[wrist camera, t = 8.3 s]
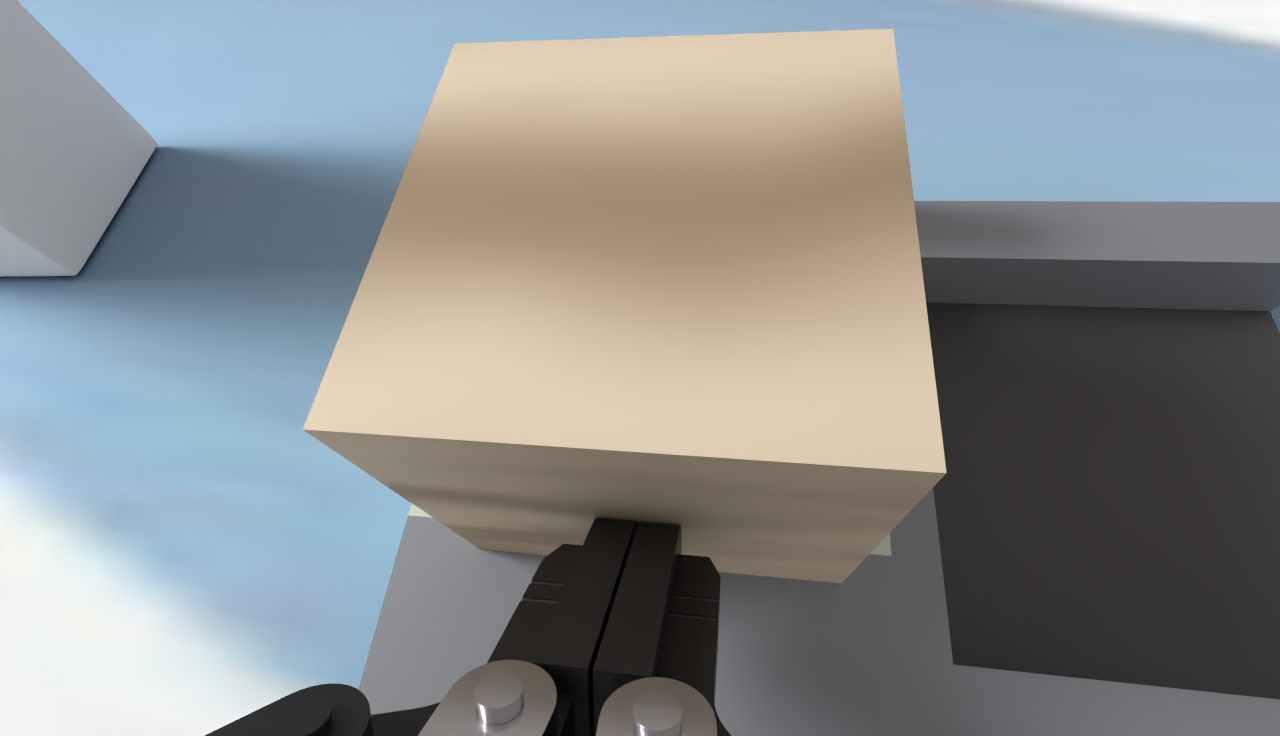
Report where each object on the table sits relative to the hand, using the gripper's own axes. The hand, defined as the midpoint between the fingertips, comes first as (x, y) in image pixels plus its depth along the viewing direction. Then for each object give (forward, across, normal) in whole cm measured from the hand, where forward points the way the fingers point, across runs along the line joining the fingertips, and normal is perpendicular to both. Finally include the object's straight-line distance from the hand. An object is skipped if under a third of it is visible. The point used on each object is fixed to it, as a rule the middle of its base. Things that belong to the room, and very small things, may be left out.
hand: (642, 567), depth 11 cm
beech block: (+5, 0, +1) cm, 5 cm away
